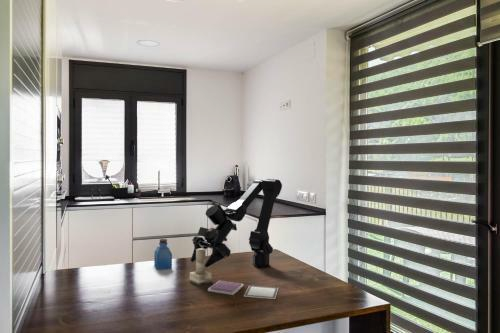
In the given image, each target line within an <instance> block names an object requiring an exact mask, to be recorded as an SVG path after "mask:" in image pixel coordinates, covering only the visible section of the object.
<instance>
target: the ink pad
mask: <svg viewBox="0 0 500 333" xmlns="http://www.w3.org/2000/svg"><path fill="white" fill-rule="evenodd" d="M244 285H245V284H244V283H241V282H235V281H226V280H218V281H217V282H215V283H214V284H213V285H211V286H209V287H208V288H207V292H210V293H211V292H212V293H218V294H225V295H232V296H235V294H237V293H238V291H240V290H241V289H242V288H243V287H244Z"/></svg>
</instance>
